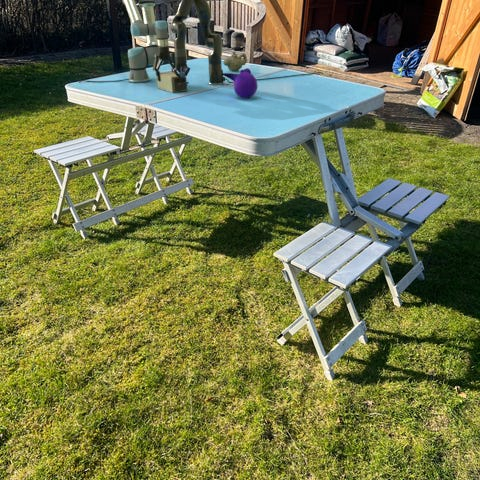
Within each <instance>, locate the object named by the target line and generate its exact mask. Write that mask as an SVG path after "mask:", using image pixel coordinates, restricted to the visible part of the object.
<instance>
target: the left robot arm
mask: <svg viewBox="0 0 480 480" xmlns="http://www.w3.org/2000/svg"><path fill="white" fill-rule="evenodd" d="M121 2H122V4H123V6H124V7H125V9H126V11H127V13H128V14H127V15H128V17H129V20H130V23H131V25H130V33H131V36H132V37H145V39H146V40H145V41H146V45H145V46H144V47H145V48H144V47H143V46H137V47H132V48H130V49H127V58H128V64H129V65H128V66H129V76H128V78H124V79H119V80H117V79H116V80H86V79H85V80H84V79H82V80H79V81H78V82H79V83H78V84H80V83H81V82H86V83H87V82H88V83H115V82H117V83H118V82H125V81H128V82H129V83H133V84H141V83H148V82H150V76H149V74H148V71H147V66H152V71H154V72H155V76H156V80H157V79H158V81H161V80H160V73H161V72H160V68H161V66H162V65H163V64H164V63H165V62H168V64H169V66H170V67H171V69H170V71H172V70H173V69H175V65H176V64H175V55H174V53H173V52H170V46H169V33H168V23H167V21H166V20H156V16H155V15H156V14H155V10H154V7H155V5H156V3H157V0H121ZM137 4H138V5H137ZM138 7H139V8H140V9H141V13H142V16H141V13H140V10H139V8H138ZM172 72H173V71H172Z"/></svg>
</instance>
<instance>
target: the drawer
mask: <svg viewBox="0 0 480 480" xmlns="http://www.w3.org/2000/svg"><path fill="white" fill-rule="evenodd" d="M172 79H173V90H174V91H175V92H174V93H177V92H176V91H180V92H182V91H181V90H185V91H187V90H188V85H189V83H190V82H189V81H188V80H187V76H185V77H184V79H185V82H183V83H180V78H172Z"/></svg>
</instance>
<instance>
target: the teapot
mask: <svg viewBox="0 0 480 480" xmlns="http://www.w3.org/2000/svg"><path fill="white" fill-rule="evenodd" d="M242 58H243V60H241V59H242ZM247 61H248V59H247V54H246V53H244V52H243V53H240V54H239V55H238V54H237V53H236V51H232V54H231V55H230V57H226V58H225V59H224V60H223V64H222V65H224V66H225V67H227V69H228V71H229V72H231V73H233V72H238V71H240V70H241V69H242V67H243V66H245V65H246V64H247Z"/></svg>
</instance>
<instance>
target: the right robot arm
mask: <svg viewBox="0 0 480 480" xmlns="http://www.w3.org/2000/svg"><path fill="white" fill-rule="evenodd" d="M192 6H193V7H194V9H195V13H196V15H197V16H196V17H197V19H198V21H199V24H200V28H201V30H202V31H201V32H202V35H203V40H204V43H205V44H204V45H205V46H206V47H207V48H209V49H213V51H212V52H211V53H208V55H207V57H208V58H207V59H208V60H207V61H208V81H209V85H211V86H219V85H223V84H224V82H226V81H227V82H228V83H229V84H232V83H233V84H234V81H229V80H230V79H229V78H226V76H224V75H222V73H224V70H223V67H222V66H223V64H222V55H223V38H222V36H221V34H219V33H212V31H211V28H210V24H211V20H212V11H211V7H210V4H209V3H208V1H207V0H181V1H180V3H179V6H178V9H177V12H176V14H175V15H174V16H173V19H172V21H171V22H170V32H171V33H173V34H177V37H174V39H173V46H174V49H173V51H174V53H173V54H174V58H175V64H176V65H175V69H173V68H172V69H173V70H171V71H173V72H174V73H175V75H176V76H177V77H179V78H180V83H183V82H185V79H184V77H187V76H188V74H189V73H190V71H191V67H189V66H188V64H187V61H188V59H187V50H186V38H187V24H186V23H185V22H184V21H186V20H188V18H189V14H190V12H191V9H192ZM316 74H321V75H324V73H323V72H322V71H317V72H310V73H300V74H292V75H284V76H275V77H267V78H266V77H265V78H256V80H257V81H266V80H273V79H274V80H275V79H282V78H289V77H299V76H307V75H309V76H310V75H316Z"/></svg>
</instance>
